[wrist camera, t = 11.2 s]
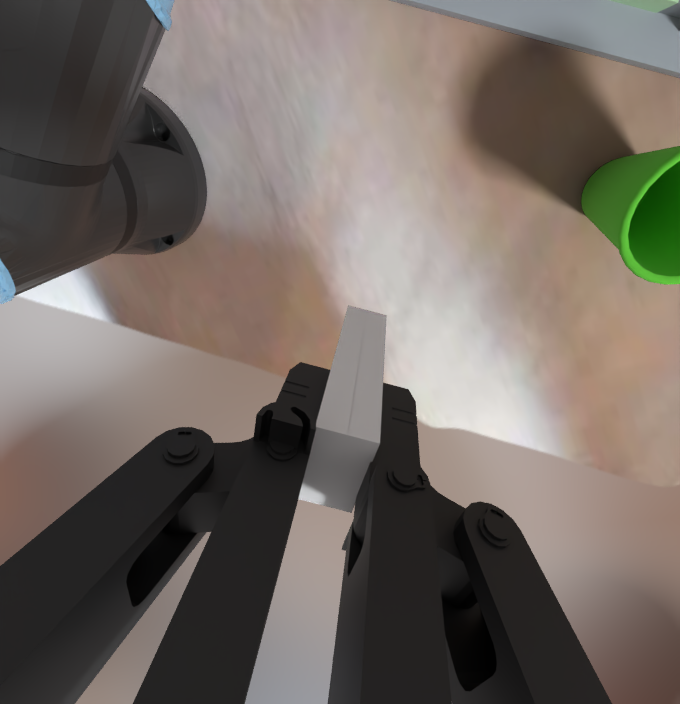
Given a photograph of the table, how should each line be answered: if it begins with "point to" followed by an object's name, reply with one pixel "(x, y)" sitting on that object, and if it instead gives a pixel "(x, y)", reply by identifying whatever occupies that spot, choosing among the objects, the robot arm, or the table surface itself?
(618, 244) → the cup
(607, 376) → the table surface
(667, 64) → the base
